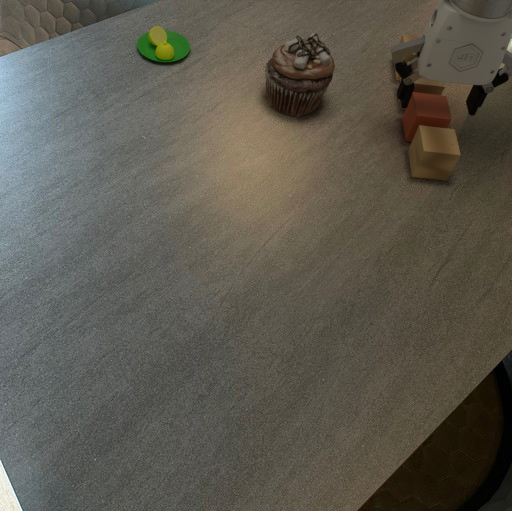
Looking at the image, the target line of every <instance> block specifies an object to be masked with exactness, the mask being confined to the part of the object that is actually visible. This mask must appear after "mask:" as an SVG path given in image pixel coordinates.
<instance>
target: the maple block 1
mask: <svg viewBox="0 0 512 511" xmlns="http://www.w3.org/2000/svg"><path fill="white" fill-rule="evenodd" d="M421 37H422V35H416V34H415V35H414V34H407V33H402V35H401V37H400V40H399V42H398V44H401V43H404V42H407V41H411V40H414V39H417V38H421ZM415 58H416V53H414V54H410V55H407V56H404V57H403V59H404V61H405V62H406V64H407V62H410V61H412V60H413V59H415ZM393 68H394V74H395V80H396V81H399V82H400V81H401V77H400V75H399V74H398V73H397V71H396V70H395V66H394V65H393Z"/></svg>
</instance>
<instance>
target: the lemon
mask: <svg viewBox="0 0 512 511" xmlns="http://www.w3.org/2000/svg"><path fill="white" fill-rule="evenodd" d="M136 47H137V50H138V51H139V53H140V54H141V55H142V56H143V57H145V58H147V59H149V60H152V61H155V62H160V63H172V62H177V61H180V60H181V59H184V58H185V57H186V56H187V55H188V54H189V52H190V50H191V45H190V42H189V40H188V39H187V38H186V37H185V36H184V35H183V34H180V33H178V32H176V31H172V30H169V29H168V30H167V29H164V28H163V27H161V26H159V25H154V26H153V27H152V28H151V29H150V30H149V31H147V32H145V33H143V34H142V35H141V36H140V37H139V38H138V40H137V42H136Z"/></svg>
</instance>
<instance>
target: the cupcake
mask: <svg viewBox="0 0 512 511" xmlns="http://www.w3.org/2000/svg"><path fill="white" fill-rule="evenodd" d="M335 69H336V65H335V60H334V58H333V56H332V54H331V50H330V49H329V47H328V46H327V45H326V44H325V43H324V42H323V41H322V40H321V38H320V35H319V33H317V32H311V34H309V35H308V38H307V39H306V38H305V39H303V38H302V37H301V36H300V35H296V36H295V38H293V39H291V40H288V41H286V42H285V43H284V44H283V45H280V46H279V47H277V48H276V49H275V50H274V51H273V53H272V56H271V57H269V59H268V60H267V62H265V65H264V74H265V90H266V91H265V94H266V100H267V103H268V104H269V105H270V107H272V108H273V109H274V110H275V111H277V112H278V113H281V114H283V115H285V116H291V117H301V116H304V115H308V114H311V113H313V112H314V111H316V109H317V108H318V107H319V105H320V103H321V101H322V99H323V97H324V96H325V93H326V92H327V90H328V88H329V86H330V84H331V82H332V80H333V77H334V72H335Z"/></svg>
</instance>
